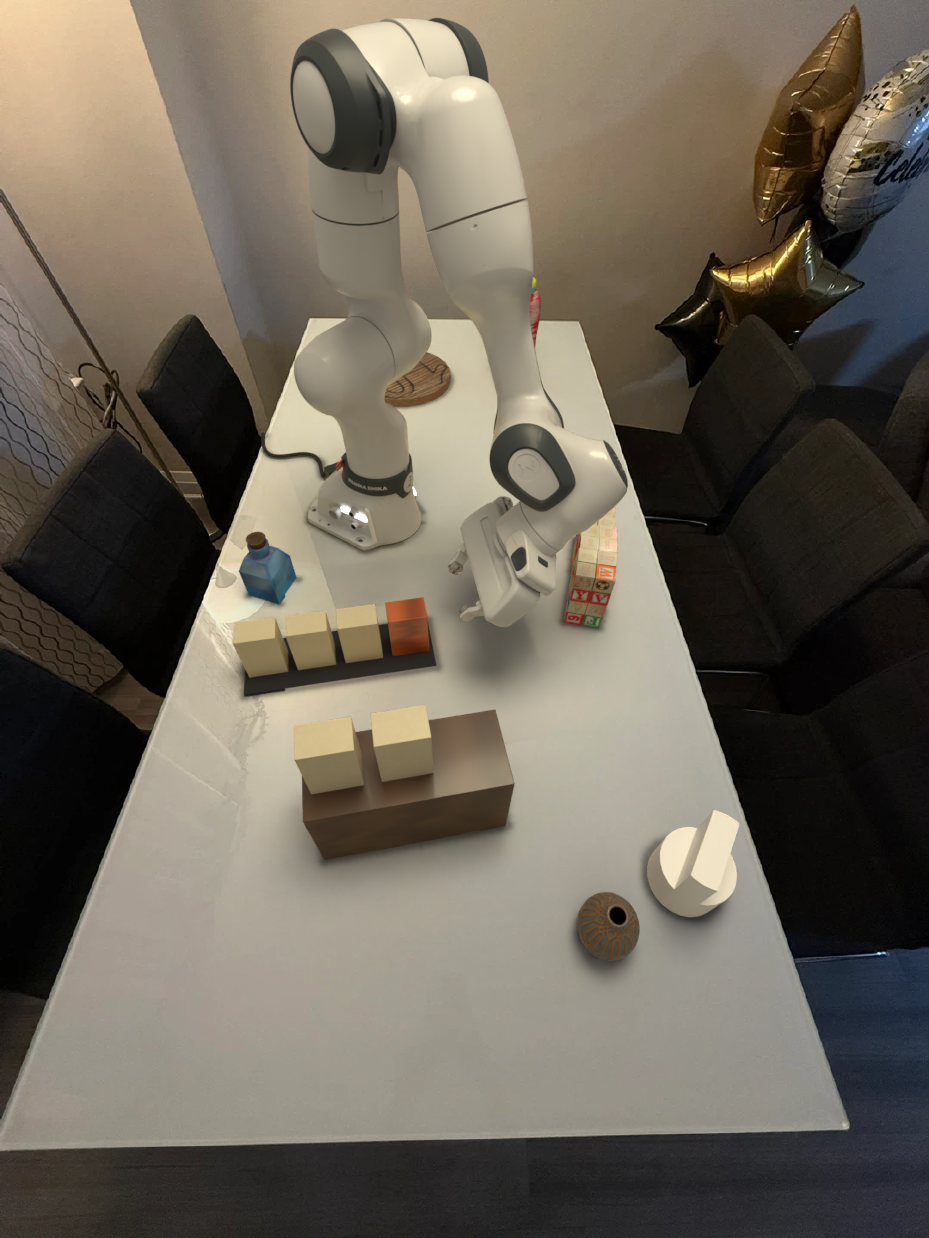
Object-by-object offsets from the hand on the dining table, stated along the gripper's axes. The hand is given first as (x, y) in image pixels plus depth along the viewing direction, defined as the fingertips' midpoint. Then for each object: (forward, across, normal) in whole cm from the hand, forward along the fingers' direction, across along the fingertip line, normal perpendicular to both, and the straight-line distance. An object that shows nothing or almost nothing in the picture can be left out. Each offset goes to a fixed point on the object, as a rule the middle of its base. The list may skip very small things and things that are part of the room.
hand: (456, 592), depth 88 cm
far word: (+22, 0, -5) cm, 22 cm away
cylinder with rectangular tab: (-7, +42, +24) cm, 49 cm away
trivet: (+7, -84, +10) cm, 85 cm away
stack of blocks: (-10, -9, +27) cm, 30 cm away
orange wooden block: (+14, 0, +2) cm, 14 cm away
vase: (+2, +46, +15) cm, 49 cm away
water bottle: (-13, -79, +30) cm, 86 cm away
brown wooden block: (+16, +27, 0) cm, 31 cm away
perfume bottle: (+30, -17, -13) cm, 37 cm away
